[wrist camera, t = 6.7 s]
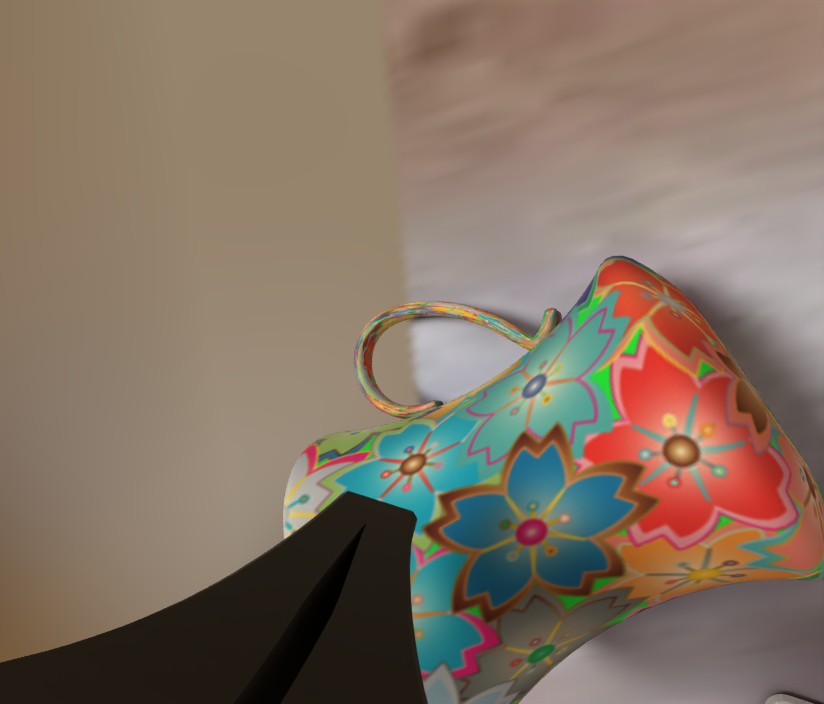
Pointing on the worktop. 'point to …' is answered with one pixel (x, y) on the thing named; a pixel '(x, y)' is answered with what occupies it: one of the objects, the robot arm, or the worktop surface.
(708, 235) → the worktop surface
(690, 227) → the worktop surface
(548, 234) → the worktop surface
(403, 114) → the worktop surface
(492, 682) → the mug
